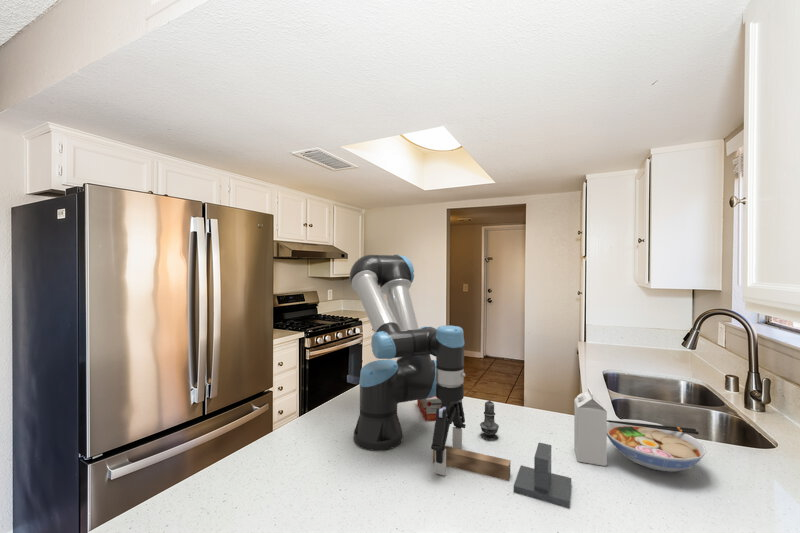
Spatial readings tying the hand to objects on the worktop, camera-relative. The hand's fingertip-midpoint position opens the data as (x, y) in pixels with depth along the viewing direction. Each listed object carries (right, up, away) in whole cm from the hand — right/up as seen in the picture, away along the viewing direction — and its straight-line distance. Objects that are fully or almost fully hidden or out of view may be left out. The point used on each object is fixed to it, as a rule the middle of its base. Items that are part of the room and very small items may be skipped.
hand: (449, 461), depth 98 cm
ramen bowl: (+55, -1, 0) cm, 55 cm away
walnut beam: (+5, -1, -3) cm, 6 cm away
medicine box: (-2, -1, +34) cm, 34 cm away
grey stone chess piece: (+15, -1, +15) cm, 21 cm away
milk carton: (+40, -1, +3) cm, 40 cm away
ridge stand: (+21, 0, -11) cm, 24 cm away
